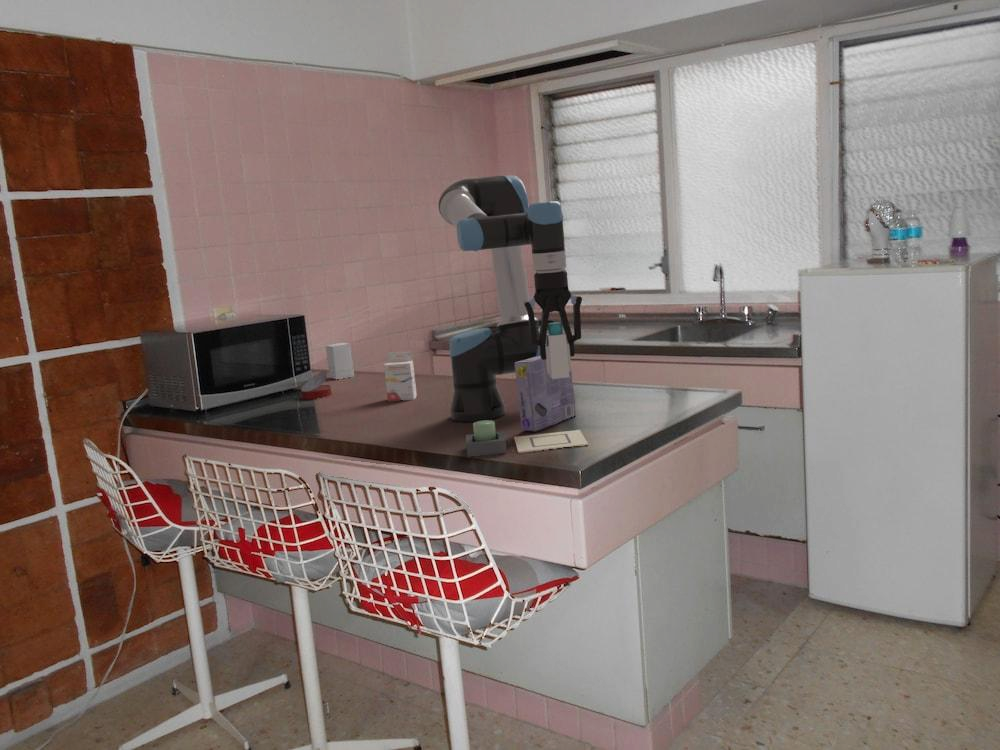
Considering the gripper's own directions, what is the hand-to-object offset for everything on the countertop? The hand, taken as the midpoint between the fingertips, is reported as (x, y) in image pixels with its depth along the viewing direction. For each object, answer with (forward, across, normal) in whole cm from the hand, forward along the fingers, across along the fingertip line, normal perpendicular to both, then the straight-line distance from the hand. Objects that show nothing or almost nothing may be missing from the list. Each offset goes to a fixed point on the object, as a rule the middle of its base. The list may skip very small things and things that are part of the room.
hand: (558, 371), depth 207 cm
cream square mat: (+16, -4, -1) cm, 17 cm away
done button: (+14, -19, -1) cm, 24 cm away
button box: (+16, -19, -1) cm, 25 cm away
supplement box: (+18, -64, +130) cm, 146 cm away
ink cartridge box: (+17, -40, +74) cm, 86 cm away
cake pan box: (+17, -1, +18) cm, 25 cm away
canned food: (+18, -69, +96) cm, 119 cm away
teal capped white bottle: (+1, 0, 0) cm, 1 cm away
